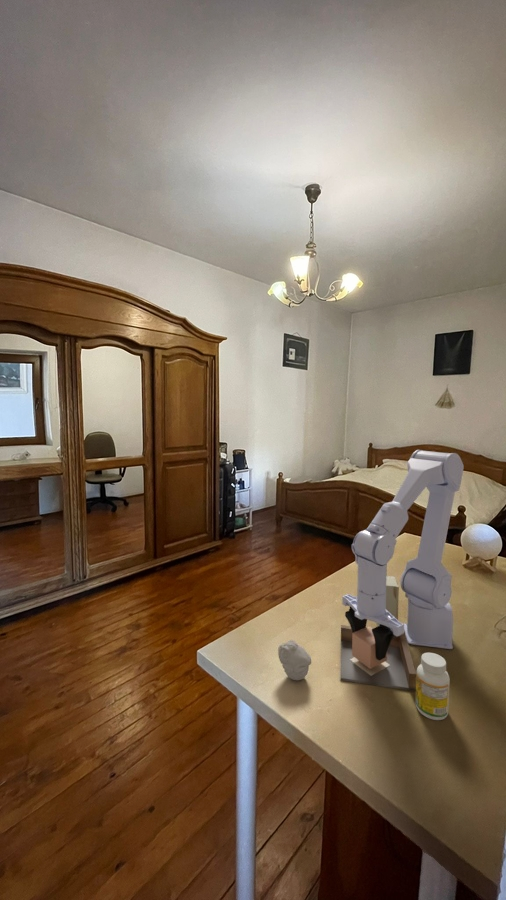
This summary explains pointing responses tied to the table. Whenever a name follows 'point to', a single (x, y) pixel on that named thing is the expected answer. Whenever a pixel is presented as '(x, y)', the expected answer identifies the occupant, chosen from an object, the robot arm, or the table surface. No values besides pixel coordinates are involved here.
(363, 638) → the cube
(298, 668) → the frog figurine
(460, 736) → the table surface
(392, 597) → the skincare box
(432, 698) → the supplement bottle
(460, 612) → the table surface
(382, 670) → the tray
